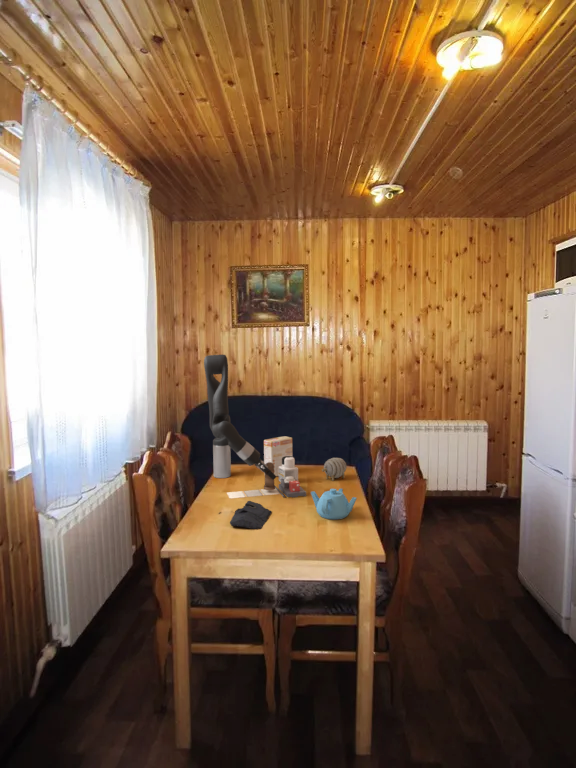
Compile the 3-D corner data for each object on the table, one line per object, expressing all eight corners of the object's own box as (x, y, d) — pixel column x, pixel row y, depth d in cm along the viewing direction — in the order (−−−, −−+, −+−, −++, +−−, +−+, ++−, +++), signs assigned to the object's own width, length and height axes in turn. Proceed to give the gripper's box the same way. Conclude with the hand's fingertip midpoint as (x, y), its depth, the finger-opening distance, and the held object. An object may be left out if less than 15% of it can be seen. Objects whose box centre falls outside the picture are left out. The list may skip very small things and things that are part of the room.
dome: (282, 483, 237) (282, 476, 237) (293, 482, 239) (293, 475, 238) (285, 487, 232) (285, 479, 231) (296, 486, 233) (296, 478, 233)
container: (278, 480, 251) (278, 456, 249) (291, 478, 254) (291, 454, 253) (284, 484, 244) (284, 459, 242) (298, 482, 247) (298, 457, 246)
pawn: (263, 487, 230) (262, 461, 229) (273, 486, 232) (273, 460, 230) (265, 490, 225) (265, 464, 224) (276, 489, 227) (276, 463, 225)
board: (222, 493, 231) (222, 490, 230) (275, 488, 238) (275, 485, 238) (228, 503, 215) (228, 501, 215) (284, 498, 222) (284, 495, 222)
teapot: (309, 510, 206) (309, 485, 205) (341, 506, 211) (341, 482, 210) (322, 523, 192) (322, 496, 191) (357, 518, 196) (357, 492, 195)
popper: (278, 488, 238) (278, 475, 237) (296, 486, 240) (296, 474, 240) (287, 497, 223) (287, 485, 222) (306, 496, 225) (306, 483, 225)
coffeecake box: (284, 470, 271) (284, 435, 270) (293, 472, 266) (293, 437, 264) (263, 475, 262) (263, 439, 260) (271, 477, 256) (271, 441, 255)
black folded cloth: (223, 529, 187) (223, 517, 187) (238, 509, 209) (238, 499, 208) (262, 531, 185) (261, 519, 184) (273, 511, 206) (273, 500, 206)
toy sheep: (352, 477, 255) (352, 457, 254) (331, 484, 244) (331, 462, 243) (337, 473, 263) (337, 453, 262) (316, 480, 251) (316, 459, 251)
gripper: (256, 450, 218) (282, 474, 222) (250, 444, 231) (275, 467, 236) (245, 463, 217) (271, 487, 221) (239, 455, 230) (264, 478, 235)
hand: (273, 476), depth 228 cm, fingers closed on pawn, 4 cm apart
